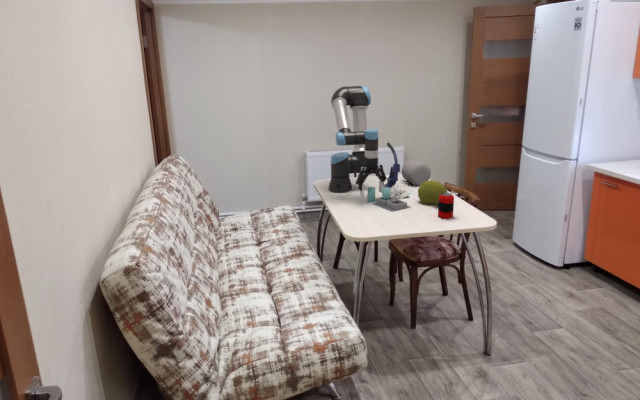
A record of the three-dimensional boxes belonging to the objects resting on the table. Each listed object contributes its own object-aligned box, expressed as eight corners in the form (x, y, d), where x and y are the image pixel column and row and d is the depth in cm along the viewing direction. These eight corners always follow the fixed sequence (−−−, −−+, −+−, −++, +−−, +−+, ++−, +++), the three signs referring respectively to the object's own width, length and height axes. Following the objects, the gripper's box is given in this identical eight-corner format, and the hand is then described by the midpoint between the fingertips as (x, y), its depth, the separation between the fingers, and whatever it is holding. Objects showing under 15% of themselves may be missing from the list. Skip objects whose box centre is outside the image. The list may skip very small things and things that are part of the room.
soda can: (441, 213, 248) (442, 191, 244) (455, 216, 243) (456, 193, 240) (435, 217, 242) (436, 194, 239) (449, 219, 238) (450, 197, 234)
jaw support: (410, 196, 268) (398, 184, 268) (399, 207, 271) (386, 195, 271) (411, 190, 280) (399, 179, 280) (400, 201, 283) (388, 190, 283)
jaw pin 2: (380, 203, 265) (380, 187, 262) (386, 202, 267) (386, 186, 264) (385, 205, 261) (385, 189, 259) (391, 203, 263) (391, 188, 261)
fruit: (442, 199, 272) (452, 179, 262) (440, 215, 262) (451, 195, 252) (415, 190, 273) (424, 170, 263) (413, 205, 262) (422, 185, 252)
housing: (371, 205, 265) (371, 198, 264) (390, 201, 272) (390, 194, 270) (391, 213, 250) (391, 206, 249) (411, 208, 257) (412, 201, 256)
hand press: (403, 191, 291) (404, 146, 283) (389, 192, 289) (390, 147, 281) (393, 184, 309) (394, 142, 301) (380, 185, 307) (381, 142, 299)
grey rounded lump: (400, 180, 298) (390, 166, 321) (414, 195, 304) (403, 181, 327) (423, 160, 294) (412, 148, 317) (437, 176, 300) (424, 163, 323)
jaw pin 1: (365, 202, 270) (365, 187, 268) (372, 201, 272) (372, 186, 270) (370, 204, 267) (370, 189, 264) (376, 203, 269) (376, 188, 266)
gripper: (357, 161, 253) (357, 199, 258) (393, 155, 265) (392, 192, 270) (349, 159, 259) (349, 196, 264) (384, 154, 271) (384, 189, 277)
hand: (371, 194), depth 267 cm, fingers open, 13 cm apart
